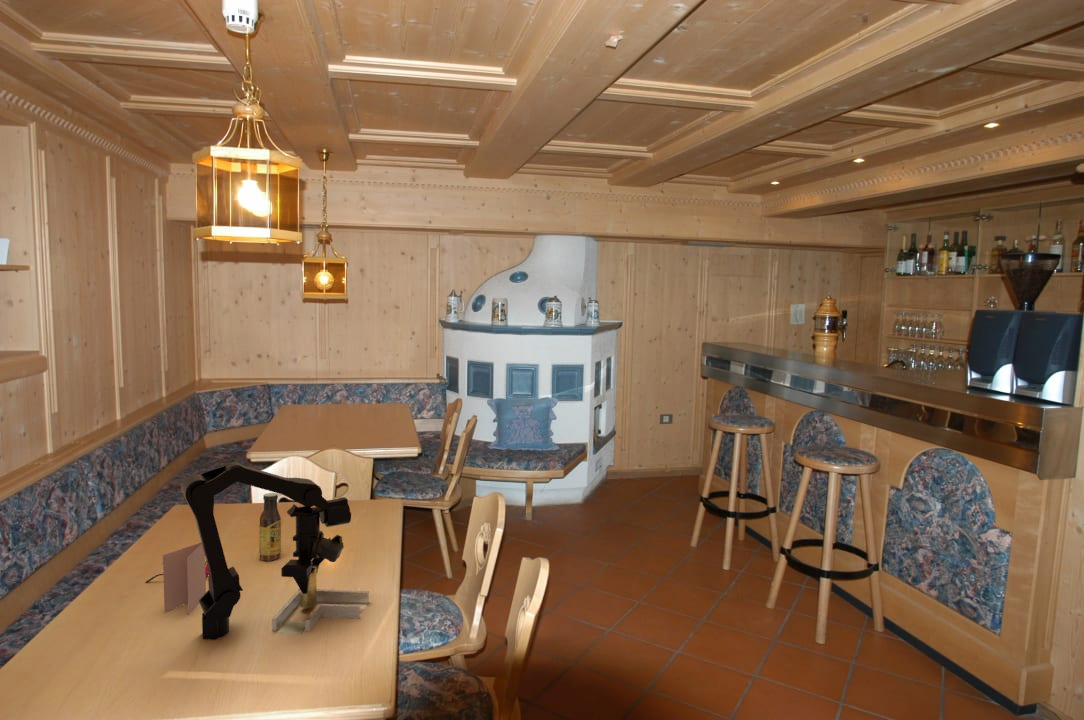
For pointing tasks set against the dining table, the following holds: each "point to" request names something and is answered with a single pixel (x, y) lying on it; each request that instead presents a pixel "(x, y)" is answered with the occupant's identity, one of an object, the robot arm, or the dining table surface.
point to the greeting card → (184, 577)
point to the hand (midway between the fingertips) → (308, 589)
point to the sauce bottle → (270, 529)
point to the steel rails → (324, 606)
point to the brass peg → (310, 592)
